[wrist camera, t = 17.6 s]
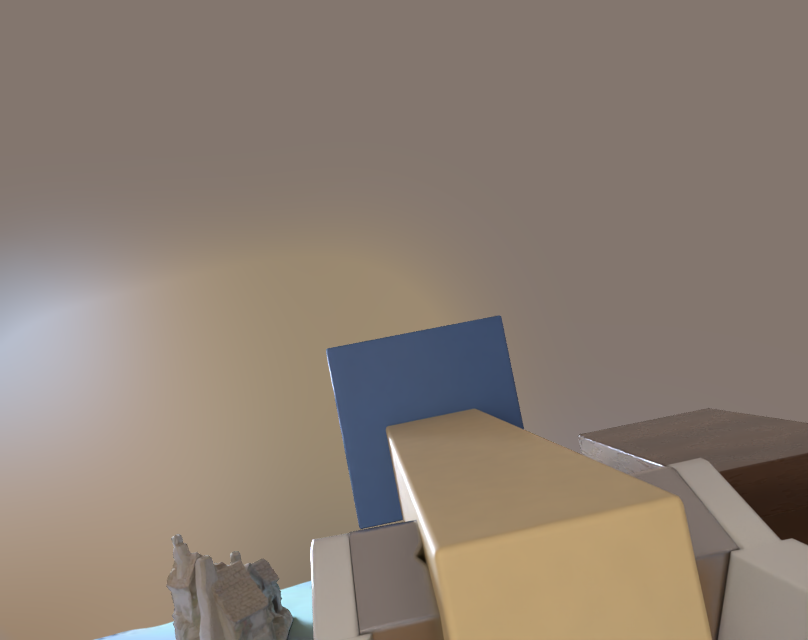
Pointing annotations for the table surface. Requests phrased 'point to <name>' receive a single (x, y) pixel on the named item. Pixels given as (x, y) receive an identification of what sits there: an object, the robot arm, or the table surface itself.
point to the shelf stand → (722, 458)
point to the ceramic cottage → (225, 598)
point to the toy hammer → (507, 499)
